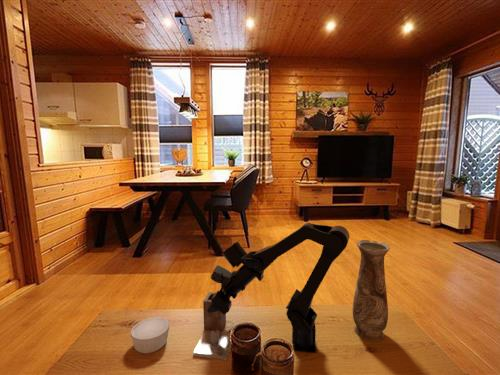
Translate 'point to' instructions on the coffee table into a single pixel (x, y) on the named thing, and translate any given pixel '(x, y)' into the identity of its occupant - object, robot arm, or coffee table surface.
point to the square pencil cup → (212, 315)
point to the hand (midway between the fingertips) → (210, 306)
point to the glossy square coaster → (213, 345)
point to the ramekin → (150, 334)
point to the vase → (371, 292)
